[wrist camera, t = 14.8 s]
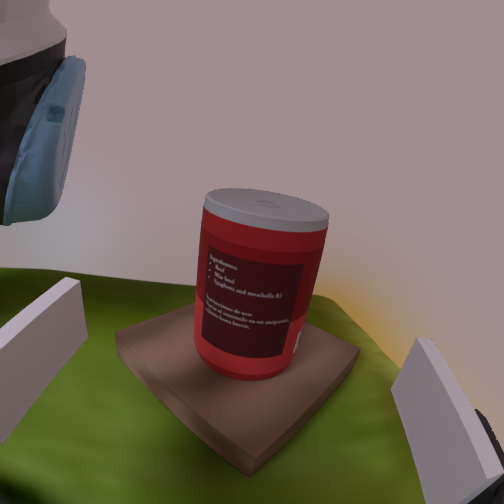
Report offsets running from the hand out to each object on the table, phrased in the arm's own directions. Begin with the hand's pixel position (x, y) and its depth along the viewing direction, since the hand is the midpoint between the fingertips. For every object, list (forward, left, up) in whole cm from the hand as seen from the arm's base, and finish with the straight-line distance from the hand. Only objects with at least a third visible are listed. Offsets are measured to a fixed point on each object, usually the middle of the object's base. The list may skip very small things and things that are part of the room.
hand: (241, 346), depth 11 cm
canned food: (-6, +8, -8) cm, 12 cm away
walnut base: (-6, +8, -10) cm, 14 cm away
